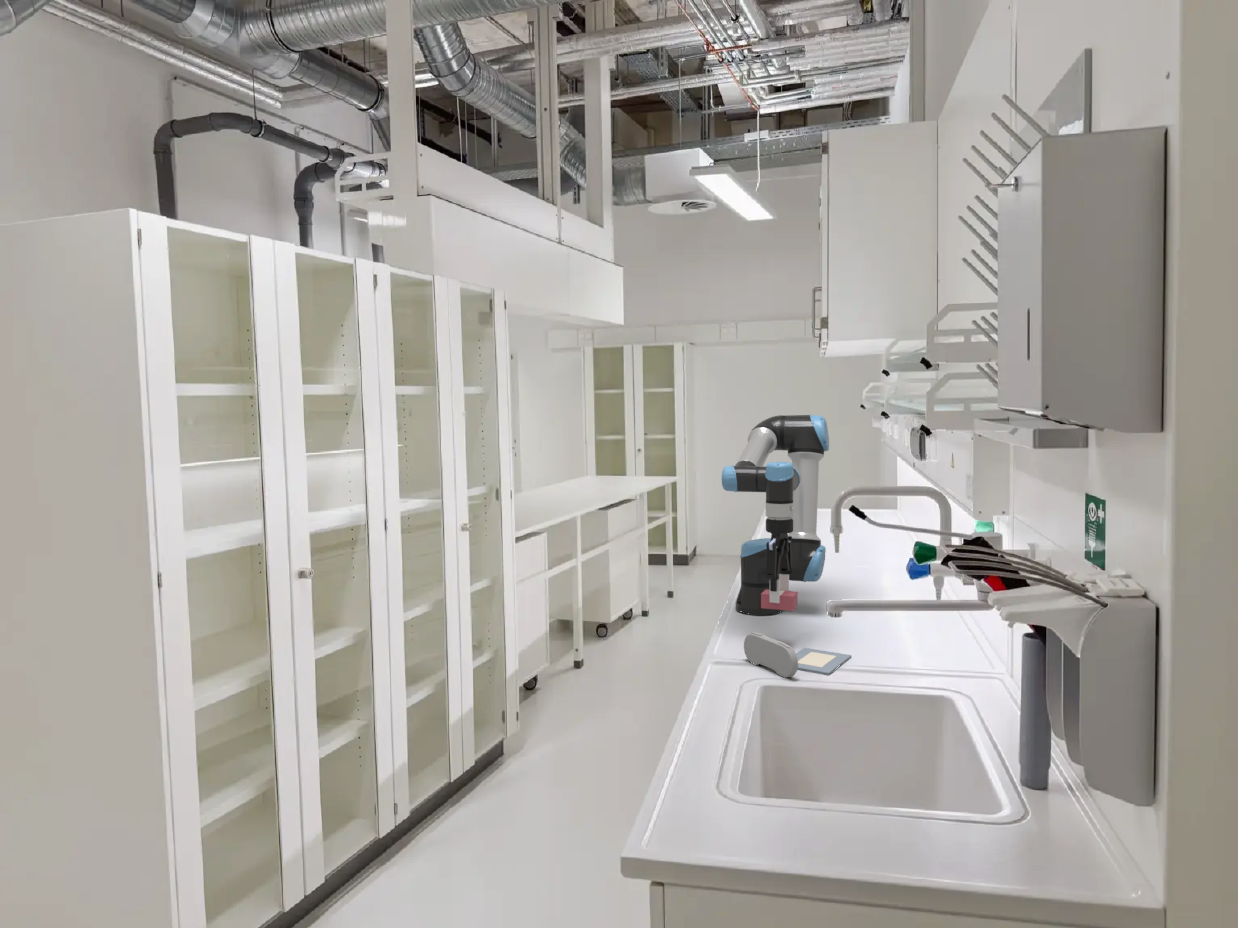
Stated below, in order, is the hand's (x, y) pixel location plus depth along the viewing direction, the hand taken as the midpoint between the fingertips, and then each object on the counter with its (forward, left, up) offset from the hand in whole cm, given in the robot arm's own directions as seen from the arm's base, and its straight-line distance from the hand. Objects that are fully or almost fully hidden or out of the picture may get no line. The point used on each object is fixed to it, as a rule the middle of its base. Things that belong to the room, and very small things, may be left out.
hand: (779, 599), depth 231 cm
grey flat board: (+9, +14, -13) cm, 21 cm away
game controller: (+21, +6, -13) cm, 25 cm away
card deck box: (0, 0, -2) cm, 2 cm away
